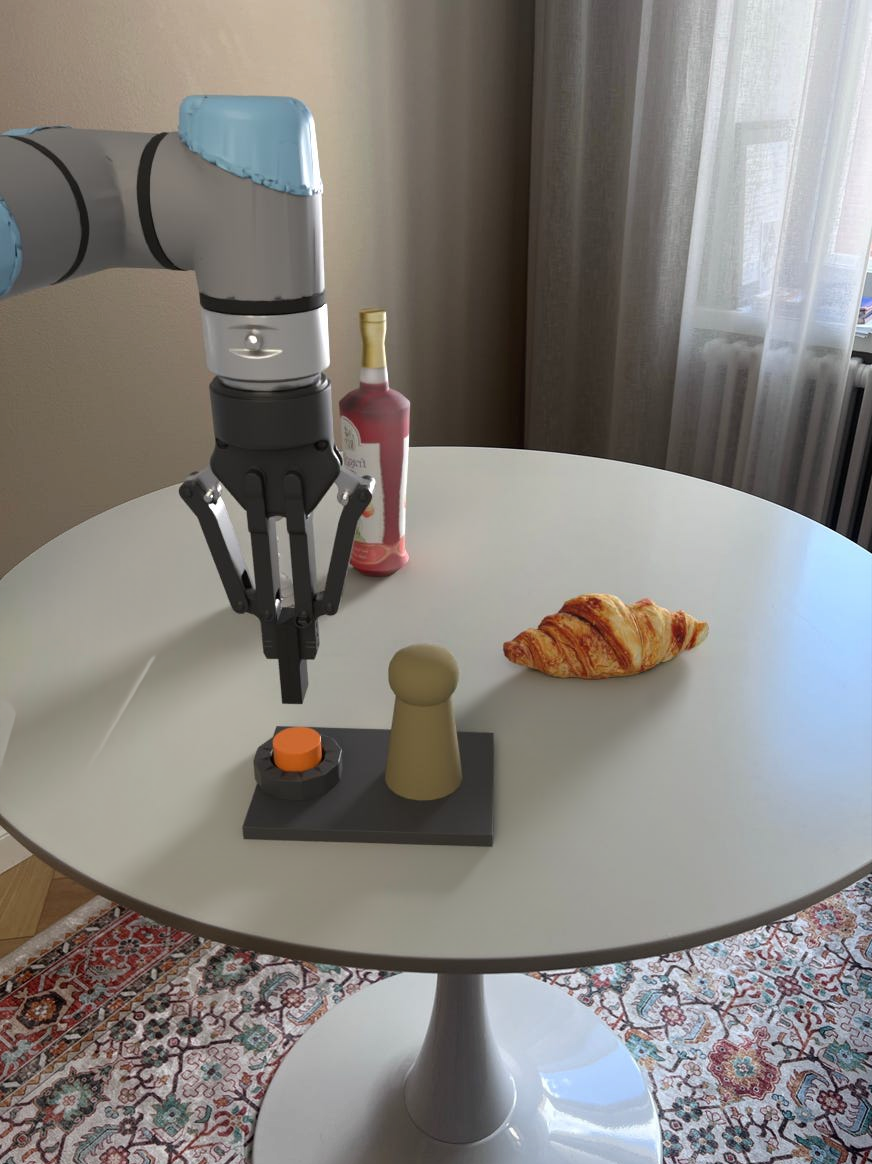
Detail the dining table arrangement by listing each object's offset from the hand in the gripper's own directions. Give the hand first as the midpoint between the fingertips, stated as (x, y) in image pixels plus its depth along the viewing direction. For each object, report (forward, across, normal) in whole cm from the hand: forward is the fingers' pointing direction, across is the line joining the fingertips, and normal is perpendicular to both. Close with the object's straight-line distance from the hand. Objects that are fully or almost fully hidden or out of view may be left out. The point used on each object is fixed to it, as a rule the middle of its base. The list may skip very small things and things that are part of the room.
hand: (295, 693), depth 75 cm
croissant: (+9, +26, +21) cm, 34 cm away
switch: (+6, 0, 0) cm, 6 cm away
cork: (+8, +9, 0) cm, 12 cm away
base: (+9, +6, 0) cm, 10 cm away
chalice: (+9, -8, +32) cm, 34 cm away
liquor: (+9, +2, +40) cm, 41 cm away
